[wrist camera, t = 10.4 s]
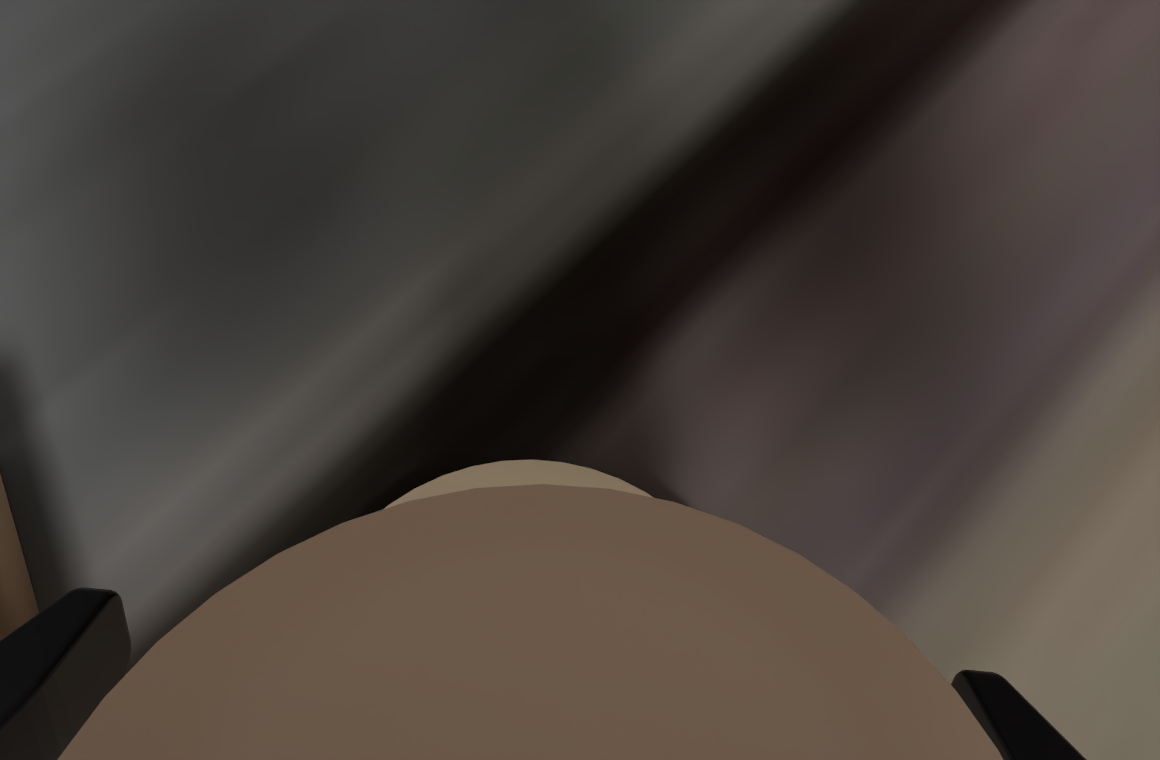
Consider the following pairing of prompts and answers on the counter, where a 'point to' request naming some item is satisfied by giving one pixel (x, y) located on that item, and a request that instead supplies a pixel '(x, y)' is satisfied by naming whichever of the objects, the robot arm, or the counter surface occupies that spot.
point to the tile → (13, 574)
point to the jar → (534, 647)
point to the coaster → (518, 478)
